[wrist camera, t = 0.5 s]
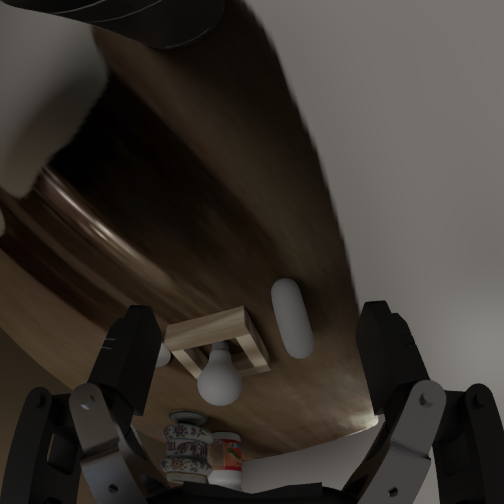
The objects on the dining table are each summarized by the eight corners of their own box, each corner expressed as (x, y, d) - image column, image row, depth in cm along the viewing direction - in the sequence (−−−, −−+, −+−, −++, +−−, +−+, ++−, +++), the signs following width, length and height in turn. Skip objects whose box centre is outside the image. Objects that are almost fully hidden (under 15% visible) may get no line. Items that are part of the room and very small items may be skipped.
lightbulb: (197, 349, 43) (193, 409, 34) (204, 325, 40) (200, 390, 30) (234, 354, 44) (236, 414, 35) (244, 331, 41) (248, 396, 32)
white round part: (109, 336, 41) (108, 340, 40) (152, 326, 39) (151, 330, 39) (139, 366, 45) (138, 369, 45) (180, 359, 44) (180, 363, 44)
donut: (305, 312, 39) (321, 369, 31) (282, 318, 40) (293, 376, 31) (291, 258, 34) (308, 318, 26) (263, 266, 34) (273, 328, 26)
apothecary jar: (172, 424, 62) (168, 484, 47) (157, 405, 55) (150, 475, 40) (217, 425, 62) (217, 487, 47) (208, 406, 55) (207, 480, 40)
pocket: (167, 325, 39) (163, 343, 36) (243, 305, 38) (244, 324, 35) (202, 367, 46) (201, 384, 43) (268, 353, 44) (270, 370, 41)
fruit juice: (206, 430, 64) (207, 521, 41) (241, 431, 65) (246, 522, 42) (208, 440, 69) (209, 521, 46) (239, 440, 70) (244, 522, 47)
